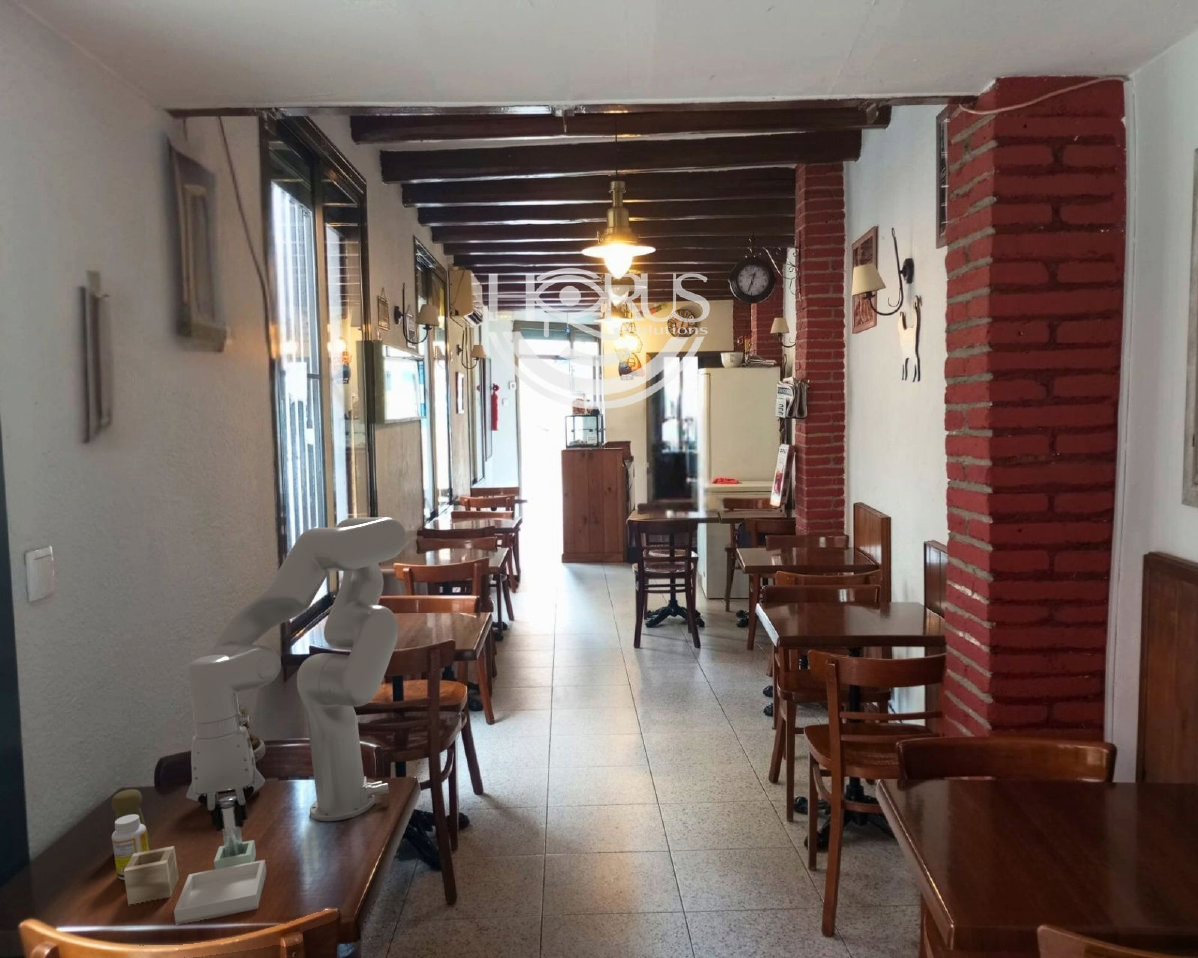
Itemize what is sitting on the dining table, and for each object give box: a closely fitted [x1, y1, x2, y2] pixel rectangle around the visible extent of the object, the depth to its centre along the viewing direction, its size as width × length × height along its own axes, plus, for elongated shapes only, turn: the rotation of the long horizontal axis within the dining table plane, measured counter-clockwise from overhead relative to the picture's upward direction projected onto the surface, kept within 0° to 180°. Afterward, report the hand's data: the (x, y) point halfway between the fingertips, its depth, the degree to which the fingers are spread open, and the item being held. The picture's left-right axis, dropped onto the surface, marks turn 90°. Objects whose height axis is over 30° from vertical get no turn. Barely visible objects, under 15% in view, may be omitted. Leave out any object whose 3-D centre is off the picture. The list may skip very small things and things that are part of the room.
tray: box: [173, 859, 267, 925], centre depth 155 cm, size 12×12×2 cm
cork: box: [111, 788, 152, 847], centre depth 178 cm, size 6×6×11 cm
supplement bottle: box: [111, 814, 150, 881], centre depth 167 cm, size 6×6×10 cm
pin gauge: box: [218, 796, 244, 857], centre depth 166 cm, size 3×3×11 cm
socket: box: [213, 839, 257, 869], centre depth 166 cm, size 6×6×3 cm
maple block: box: [124, 845, 180, 906], centre depth 159 cm, size 7×7×6 cm
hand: (230, 825), depth 166 cm, fingers closed on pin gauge, 3 cm apart
